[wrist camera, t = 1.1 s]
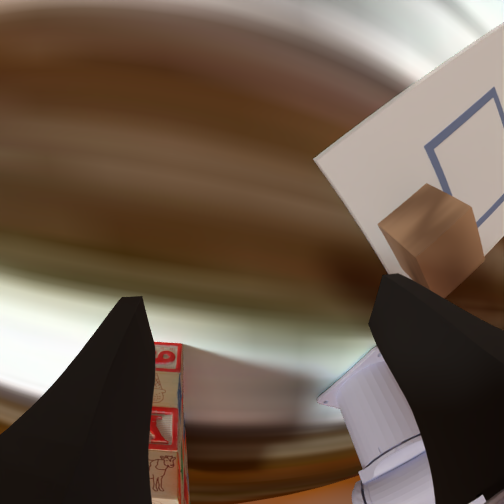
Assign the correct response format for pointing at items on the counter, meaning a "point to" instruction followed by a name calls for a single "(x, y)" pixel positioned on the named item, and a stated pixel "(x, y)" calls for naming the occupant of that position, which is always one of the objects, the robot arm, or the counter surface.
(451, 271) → the walnut block
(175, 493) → the stack of blocks
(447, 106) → the board
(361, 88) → the counter surface
